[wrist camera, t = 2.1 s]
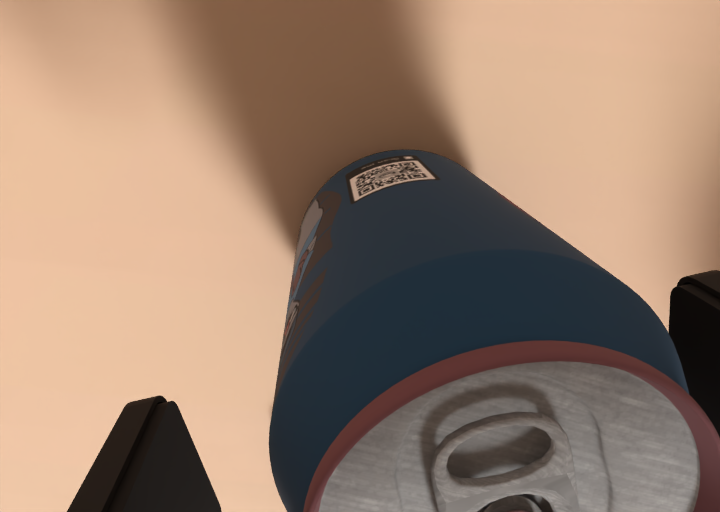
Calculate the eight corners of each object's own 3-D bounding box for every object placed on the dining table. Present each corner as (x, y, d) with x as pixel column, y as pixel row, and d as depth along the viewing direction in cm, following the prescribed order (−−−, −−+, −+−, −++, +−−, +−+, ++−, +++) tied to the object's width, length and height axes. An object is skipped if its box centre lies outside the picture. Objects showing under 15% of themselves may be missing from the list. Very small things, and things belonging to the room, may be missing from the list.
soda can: (502, 299, 19) (764, 640, 8) (328, 344, 19) (334, 741, 8) (473, 119, 16) (802, 233, 5) (273, 173, 16) (164, 398, 5)
